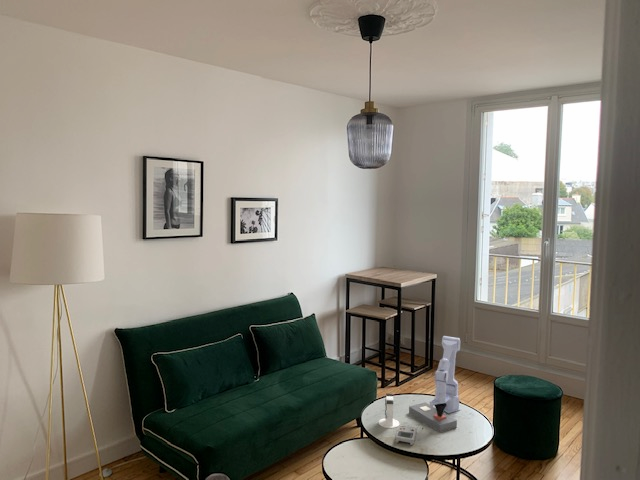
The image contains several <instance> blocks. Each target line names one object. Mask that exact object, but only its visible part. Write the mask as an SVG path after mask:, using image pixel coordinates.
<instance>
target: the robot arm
mask: <svg viewBox="0 0 640 480" xmlns="http://www.w3.org/2000/svg"><path fill="white" fill-rule="evenodd" d="M441 345H442V348H443V354H442V358H441V359H439V363H438V366H437V370H435V372H434V384H435V389H434V390H435V395H434V397H433V399H432V400H431V401H429V405H430V406H432V407H434V408H436V410H437V415H438V416H440V417H441V416H442V414H443V413H445V412H446V413H447V414H451V413H454V412H455V413H456V412H458V411H461V409H460V396H459V382H458V381H457V380H456V379H455V371H456V360H457V359H456V358H457V357H456V356H457V352H460V351H461V339H460V337H453V336H449V335H448V336H447V335H443V336H442V339H441Z"/></svg>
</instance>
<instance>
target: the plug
mask: <svg viewBox="0 0 640 480" xmlns="http://www.w3.org/2000/svg"><path fill="white" fill-rule="evenodd" d="M419 409H421V410H423V411H424V412H426V411H430V410H431V409H430V408H428V407H427V406H424V407H420V408H419Z"/></svg>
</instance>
